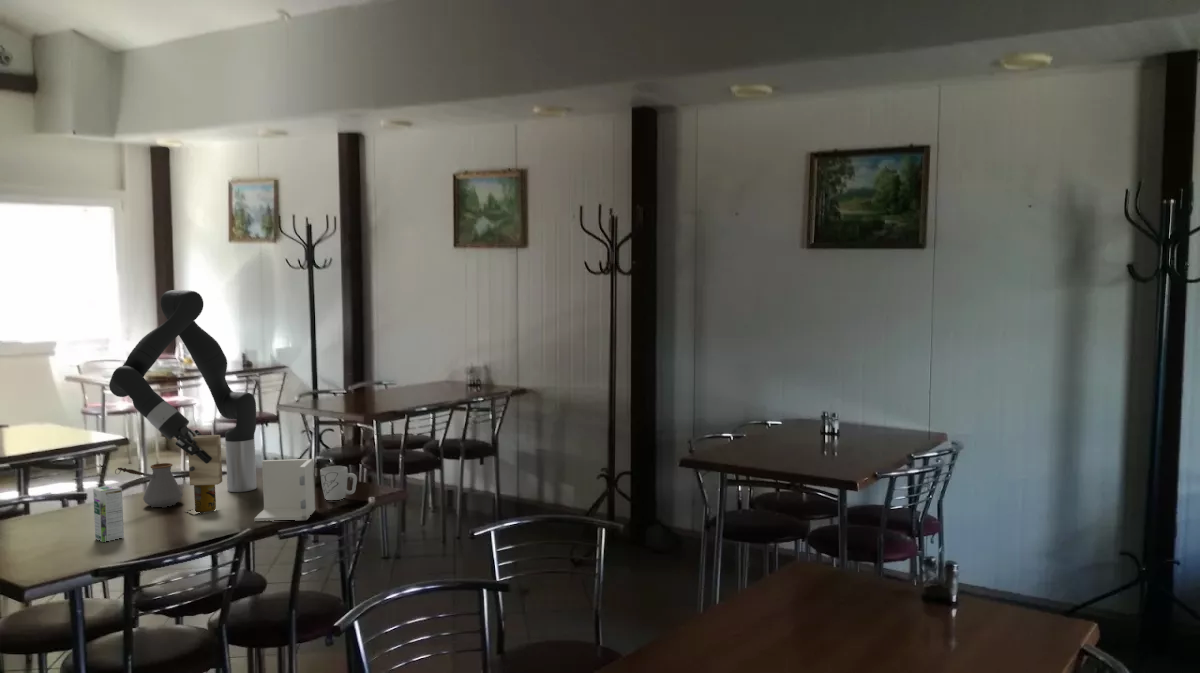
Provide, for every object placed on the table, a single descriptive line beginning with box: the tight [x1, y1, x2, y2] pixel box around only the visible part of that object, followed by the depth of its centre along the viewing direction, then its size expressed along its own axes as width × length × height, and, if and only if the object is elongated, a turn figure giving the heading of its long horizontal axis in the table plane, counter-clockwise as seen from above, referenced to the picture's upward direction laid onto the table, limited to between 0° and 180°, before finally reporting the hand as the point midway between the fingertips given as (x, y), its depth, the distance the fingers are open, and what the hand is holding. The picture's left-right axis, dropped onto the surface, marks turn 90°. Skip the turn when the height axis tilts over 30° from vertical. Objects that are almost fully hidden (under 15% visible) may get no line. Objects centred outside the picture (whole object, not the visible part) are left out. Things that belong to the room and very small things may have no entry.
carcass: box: [254, 458, 316, 522], centre depth 281 cm, size 14×15×16 cm
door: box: [187, 434, 223, 486], centre depth 275 cm, size 5×8×14 cm, turn 95°
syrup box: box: [92, 485, 125, 543], centre depth 260 cm, size 6×6×14 cm
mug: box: [319, 465, 358, 501], centre depth 302 cm, size 11×8×10 cm
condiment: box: [184, 485, 217, 515], centre depth 290 cm, size 7×8×12 cm
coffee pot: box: [114, 462, 184, 508], centre depth 294 cm, size 21×12×15 cm, turn 153°
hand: (212, 459), depth 276 cm, fingers closed on door, 4 cm apart
